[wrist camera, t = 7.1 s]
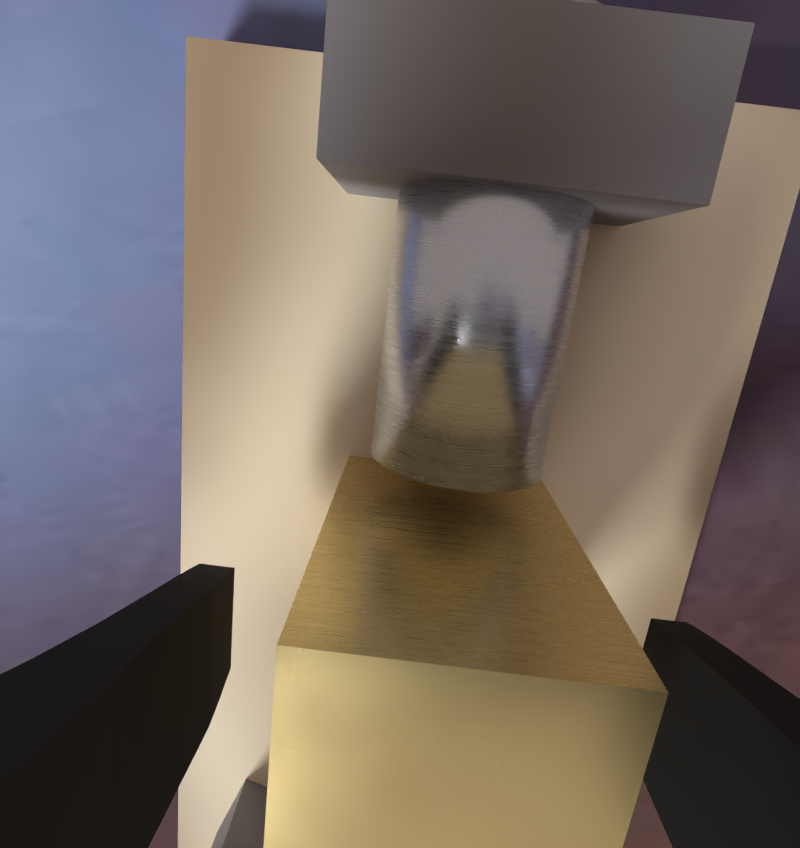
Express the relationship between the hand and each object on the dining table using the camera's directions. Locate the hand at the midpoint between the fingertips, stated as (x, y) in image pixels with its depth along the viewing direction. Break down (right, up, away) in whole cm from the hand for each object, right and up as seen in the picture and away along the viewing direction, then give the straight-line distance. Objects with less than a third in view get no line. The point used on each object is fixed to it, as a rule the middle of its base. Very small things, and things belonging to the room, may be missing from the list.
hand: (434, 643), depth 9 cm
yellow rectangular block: (0, +1, +2) cm, 3 cm away
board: (0, +1, +4) cm, 4 cm away
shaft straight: (+1, +7, +1) cm, 7 cm away
